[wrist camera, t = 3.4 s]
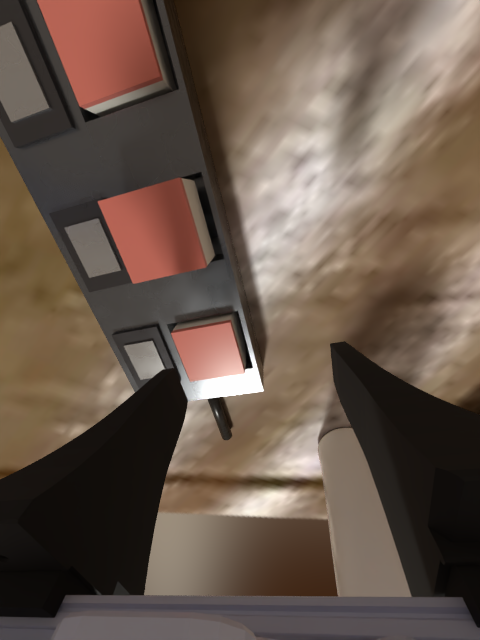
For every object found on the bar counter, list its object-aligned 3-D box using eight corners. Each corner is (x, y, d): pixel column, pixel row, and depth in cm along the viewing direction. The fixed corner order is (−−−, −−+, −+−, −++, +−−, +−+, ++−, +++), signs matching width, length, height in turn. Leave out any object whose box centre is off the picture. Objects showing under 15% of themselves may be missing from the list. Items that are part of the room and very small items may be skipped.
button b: (153, 269, 16) (133, 283, 13) (126, 200, 14) (97, 201, 12) (215, 255, 15) (205, 267, 13) (194, 180, 13) (178, 177, 11)
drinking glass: (344, 407, 23) (458, 700, 10) (396, 441, 25) (559, 740, 11) (294, 446, 26) (331, 717, 12) (344, 474, 27) (424, 747, 14)
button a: (198, 359, 21) (190, 381, 18) (182, 315, 19) (170, 333, 17) (246, 351, 20) (244, 373, 18) (234, 304, 18) (230, 322, 16)
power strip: (181, 435, 26) (170, 467, 23) (-21, 8, 13) (-106, -48, 10) (277, 425, 25) (279, 458, 22) (154, -77, 12) (116, -174, 9)
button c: (111, 122, 14) (79, 106, 12) (75, 23, 12) (28, -20, 10) (178, 98, 13) (160, 76, 11) (150, -9, 12) (120, -64, 9)
